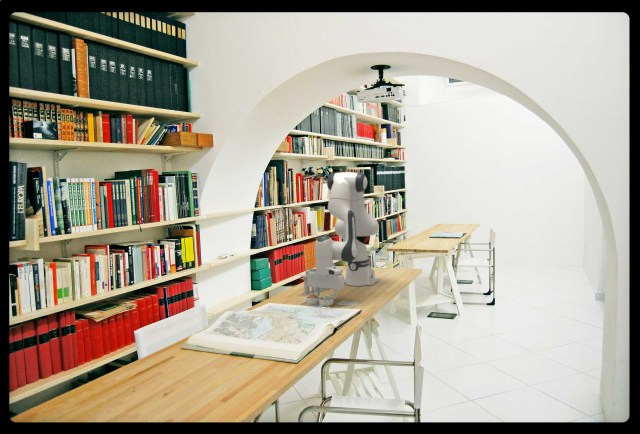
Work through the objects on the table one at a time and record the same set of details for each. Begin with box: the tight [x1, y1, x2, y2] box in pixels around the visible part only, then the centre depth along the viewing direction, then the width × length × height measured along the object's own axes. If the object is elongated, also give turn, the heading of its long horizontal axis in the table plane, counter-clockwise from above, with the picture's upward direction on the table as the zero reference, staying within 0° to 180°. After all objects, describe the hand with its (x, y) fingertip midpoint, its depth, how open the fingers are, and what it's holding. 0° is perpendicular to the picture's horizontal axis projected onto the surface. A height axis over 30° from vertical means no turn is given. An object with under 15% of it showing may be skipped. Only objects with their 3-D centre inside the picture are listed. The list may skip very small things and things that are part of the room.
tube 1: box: [305, 295, 321, 304], centre depth 244 cm, size 7×7×3 cm
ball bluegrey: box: [322, 295, 330, 300], centre depth 239 cm, size 4×4×4 cm
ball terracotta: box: [308, 293, 317, 299], centre depth 244 cm, size 4×4×4 cm
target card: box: [299, 301, 336, 308], centre depth 240 cm, size 10×15×1 cm, turn 57°
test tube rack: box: [300, 270, 329, 297], centre depth 268 cm, size 25×4×13 cm, turn 140°
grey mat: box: [337, 300, 361, 307], centre depth 238 cm, size 6×10×1 cm, turn 57°
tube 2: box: [319, 296, 334, 307], centre depth 239 cm, size 7×7×3 cm
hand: (325, 296), depth 239 cm, fingers open, 8 cm apart
